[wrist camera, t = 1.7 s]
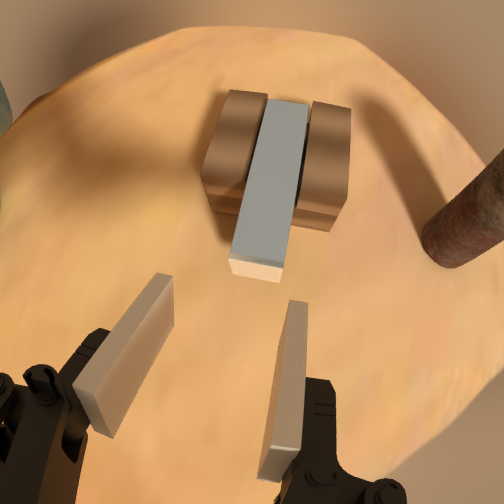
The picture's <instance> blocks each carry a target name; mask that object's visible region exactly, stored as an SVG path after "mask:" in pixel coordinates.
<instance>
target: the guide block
mask: <svg viewBox="0 0 504 504" xmlns="http://www.w3.org/2000/svg"><path fill="white" fill-rule="evenodd" d="M267 98H268V94H266V93H258V92H249V91H239V90H230V91H229V93H228V96H227V98H226V101H225V104H224V106H223V109H222V112H221V114H220V117H219V120H218V122H217V125H216V128H215V131H214V133H213V136H212V139H211V142H210V145H209V148H208V151H207V153H206V156H205V159H204V162H203V165H202V168H201V171H200V175H201V178H202V181H203V184H204V188H205V191H206V194H207V197H208V200H209V203H210V206H211V210H212V211H214V212H220V213H226V214H232V215H237V216H239V212H240V208H241V204H242V200H243V196H244V192H245V188H246V184H247V180H248V176H249V172H250V168H251V164H252V160H253V156H254V152H255V148H256V144H257V140H258V136H259V132H260V129H261V125H262V121H263V117H264V113H265V109H266V105H267ZM350 137H351V109H350V108H345V107H341V106H336V105H331V104H327V103H321V102H316V101H313V105H312V110H311V115H310V121H309V123H307V125H306V131H305V138H304V145H303V152H302V158H301V165H300V171H299V178H298V184H297V190H296V196H295V202H294V209H293V215H292V220H291V225H293V226H299V227H304V228H309V229H314V230H320V231H325V232H330V230H331V228H332V226H333V224H334V222H335V221H336V219H337V217H338V215H339V213H340V211H341V209H342V207H343V205H344V203H345V202H346V200H347V194H348V179H349V161H350Z"/></svg>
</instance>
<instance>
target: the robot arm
mask: <svg viewBox="0 0 504 504" xmlns="http://www.w3.org/2000/svg"><path fill="white" fill-rule="evenodd" d="M11 124H12V111H11V107H10V104H9V101H8V98H7V96H6V93H5V91H4V88H3V86H2V84H1V82H0V138H1V137H2V136H3V135H4V134H5V133H6V132H7V131H8V130H9V128H10V127H11ZM173 326H174V300H173V276H170V275H166V274H161V273H156V274H155V276H154V277H153V278H152V279H151V281H150V282H149V283H148V284H147V286H146V287H145V288H144V289H143V291H142V292H141V293H140V294H139V296H138V297H137V298H136V299H135V301H134V302H133V303H132V305H131V306H130V307H129V308H128V310H127V311H126V312H125V314H124V315H123V316H122V317H121V319H120V320H119V321H118V323H117V324H116V325H115V327H114V328H113V329H112V331H108V330H105V329H102V328H98V329H97V330H95V331H93V332H92V333H90V334H89V335H88V336H87V337H86V338H85V340H84V341H83V342H82V343H81V346H79V347H78V348H77V350H76V351H75V353H73V355H72V356H71V357H70V359H69V360H68V361H67V362H66V364H65V365H64V366H63V368H62V369H61V370H60V372H59V373H57V372H56V370H55V369H54V368H53V367H51V366H48V365H45V364H38V365H35V366H32V367H30V368H29V369H27V370H26V371H25V373H24V374H23V375H22V376H23V378H24V380H25V381H26V383H27V385H28V386H22V385H17V384H15V383H14V382H13V380H12V378H11V377H10V376H9V375H8V374H5V373H0V504H75V501H76V495H77V489H78V484H79V478H80V473H81V468H82V464H83V459H84V454H85V450H86V445H87V441H88V434H87V432H86V430H87V428H88V426H89V425H90V423H91V425H92V427H93V429H94V431H96V432H98V433H101V434H103V435H105V436H108V437H110V438H112V439H113V438H114V436H115V434H116V432H117V430H118V428H119V426H120V424H121V422H122V420H123V419H124V417H125V415H126V413H127V411H128V409H129V407H130V405H131V403H132V401H133V400H134V398H135V396H136V394H137V392H138V390H139V388H140V386H141V385H142V383H143V381H144V379H145V377H146V375H147V373H148V372H149V370H150V368H151V366H152V364H153V362H154V361H155V359H156V357H157V355H158V353H159V351H160V350H161V348H162V346H163V344H164V342H165V341H166V339H167V337H168V335H169V333H170V332H171V330H172V328H173ZM307 327H308V303H306V302H300V301H294V300H289V305H288V309H287V313H286V317H285V321H284V325H283V329H282V333H281V337H280V341H279V345H278V351H277V357H276V364H275V371H274V378H273V384H272V391H271V397H270V403H269V409H268V416H267V422H266V428H265V434H264V439H263V445H262V451H261V456H260V462H259V467H258V473H257V478H256V480H262V481H269V482H276V483H280V482H281V480H282V484H281V491H280V493H279V494H278V496H277V497H276V498H275V500H274V504H407V497H406V493H405V489H404V488H403V487H402V485H401V484H400V483H398V482H397V481H395V480H393V479H387V478H384V479H379V480H376V481H375V482H370V481H366V480H363V479H360V478H357V477H354V476H352V475H350V474H348V473H347V472H346V471H344V470H343V469H342V467H341V466H340V465H339V462H338V460H337V454H336V392H335V390H334V388H333V386H332V384H331V382H330V380H323V379H316V378H309V377H306V356H307ZM2 422H4V423H3V424H2Z"/></svg>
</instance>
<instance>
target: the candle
mask: <svg viewBox="0 0 504 504" xmlns="http://www.w3.org/2000/svg"><path fill="white" fill-rule="evenodd" d="M503 240H504V149H503V150H502V151H501V152H500V153H499V154H498V155H497V156H496V157H495V158H494V160H493V161H492V162H491V163H490V164H489V165H487V166H486V168H485V169H484V170H483V171H482V172H481V173H480V174H479V175H478V176H477V177H476V178H475V179H474V180H473V181H472V182H471V183H469V184H468V185H467V186H466V187H465V188H464V189H463V190H462V191H461V192H460V193H459V194H458V195H457V196H456V197H455V198H454V199H452V200H451V201H450V202H449V203H448V204H447V205H446V206H445V207H444V208H442V209H441V210H440V211H439V212H438V213H437V214H436V215H435V216H434V217H433V218H431V220H430V221H429V222H428V223H427V224H426V225H425V227H424V230H423V242H424V247H425V250H426V252H427V253H428V254H429V255H430V256H431V257H432V258H433V259H434V260H435V261H436V263H437V264H439V265H440V266H442V267H445V268H448V269H449V268H452V269H453V268H457V267H460V266H462V265H464V264H465V263H467V262H469V261H471V260H473V259H474V258H476V257H478V256H479V255H481V254H482V253H484V252H486V251H487V250H489V249H491V248H492V247H494V246H495V245H497V244H498V243H500V242H502V241H503Z"/></svg>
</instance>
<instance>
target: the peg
mask: <svg viewBox="0 0 504 504" xmlns="http://www.w3.org/2000/svg"><path fill="white" fill-rule="evenodd" d="M308 110H309V105H305V104H299V103H293V102H286V101H280V100H273V99H268V102H267V105H266V109H265V113H264V117H263V121H262V125H261V129H260V132H259V136H258V140H257V144H256V148H255V152H254V156H253V160H252V164H251V168H250V172H249V176H248V180H247V184H246V188H245V192H244V196H243V200H242V204H241V208H240V212H239V217H238V221H237V225H236V229H235V233H234V237H233V242H232V246H231V250H230V254H229V259H228V260H229V263H230V266H231V269H232V272H233V274H235V275H240V276H245V277H250V278H256V279H261V280H266V281H271V282H277V283H279V282H280V278H281V275H282V271H283V266H284V261H285V255H286V249H287V244H288V238H289V232H290V226H291V220H292V215H293V209H294V202H295V196H296V190H297V184H298V178H299V171H300V165H301V158H302V152H303V145H304V138H305V131H306V125H307V117H308Z"/></svg>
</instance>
